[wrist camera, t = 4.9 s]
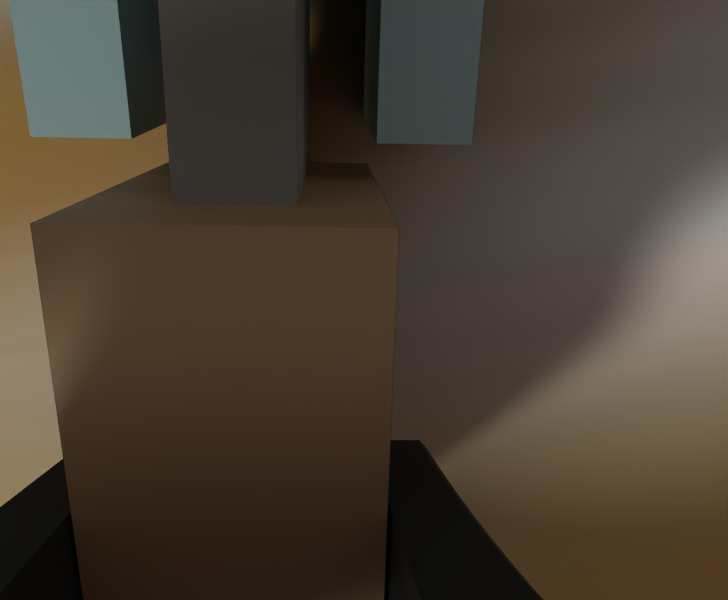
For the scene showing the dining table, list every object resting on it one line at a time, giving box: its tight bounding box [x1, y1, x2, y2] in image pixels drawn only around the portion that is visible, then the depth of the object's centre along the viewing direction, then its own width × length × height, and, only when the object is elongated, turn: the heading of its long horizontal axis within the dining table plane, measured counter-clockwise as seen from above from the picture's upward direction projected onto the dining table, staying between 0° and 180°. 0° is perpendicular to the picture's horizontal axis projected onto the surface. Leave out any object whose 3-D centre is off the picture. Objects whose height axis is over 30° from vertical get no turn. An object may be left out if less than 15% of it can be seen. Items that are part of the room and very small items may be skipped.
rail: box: [30, 0, 399, 600], centre depth 8 cm, size 12×3×5 cm, turn 178°
